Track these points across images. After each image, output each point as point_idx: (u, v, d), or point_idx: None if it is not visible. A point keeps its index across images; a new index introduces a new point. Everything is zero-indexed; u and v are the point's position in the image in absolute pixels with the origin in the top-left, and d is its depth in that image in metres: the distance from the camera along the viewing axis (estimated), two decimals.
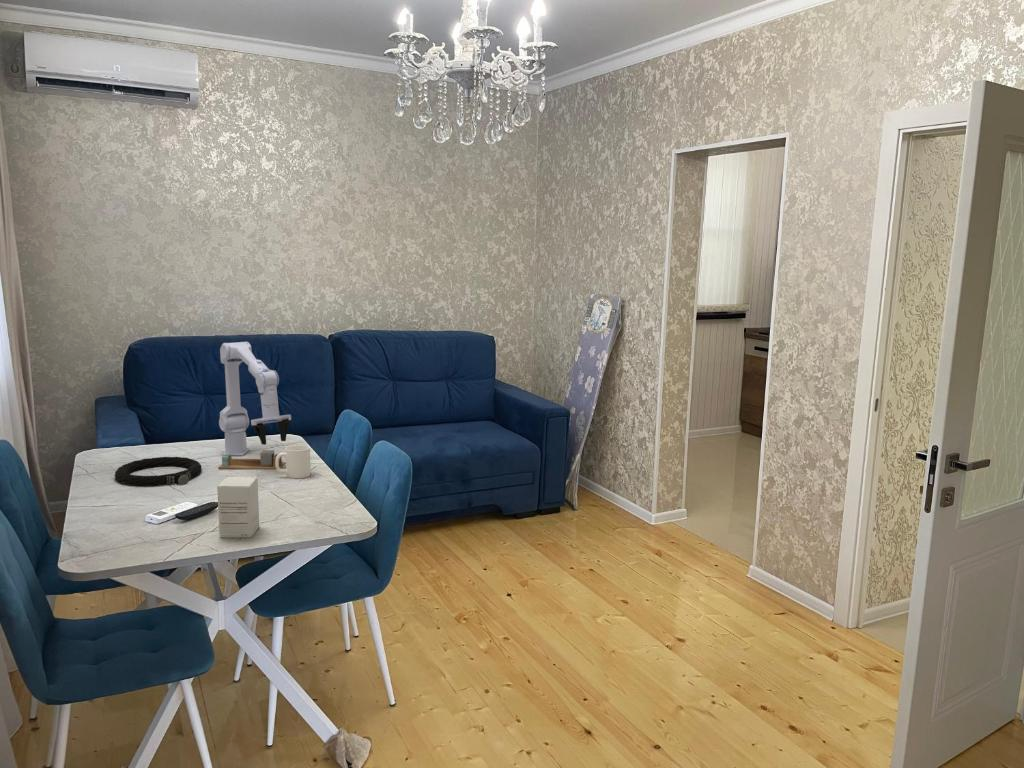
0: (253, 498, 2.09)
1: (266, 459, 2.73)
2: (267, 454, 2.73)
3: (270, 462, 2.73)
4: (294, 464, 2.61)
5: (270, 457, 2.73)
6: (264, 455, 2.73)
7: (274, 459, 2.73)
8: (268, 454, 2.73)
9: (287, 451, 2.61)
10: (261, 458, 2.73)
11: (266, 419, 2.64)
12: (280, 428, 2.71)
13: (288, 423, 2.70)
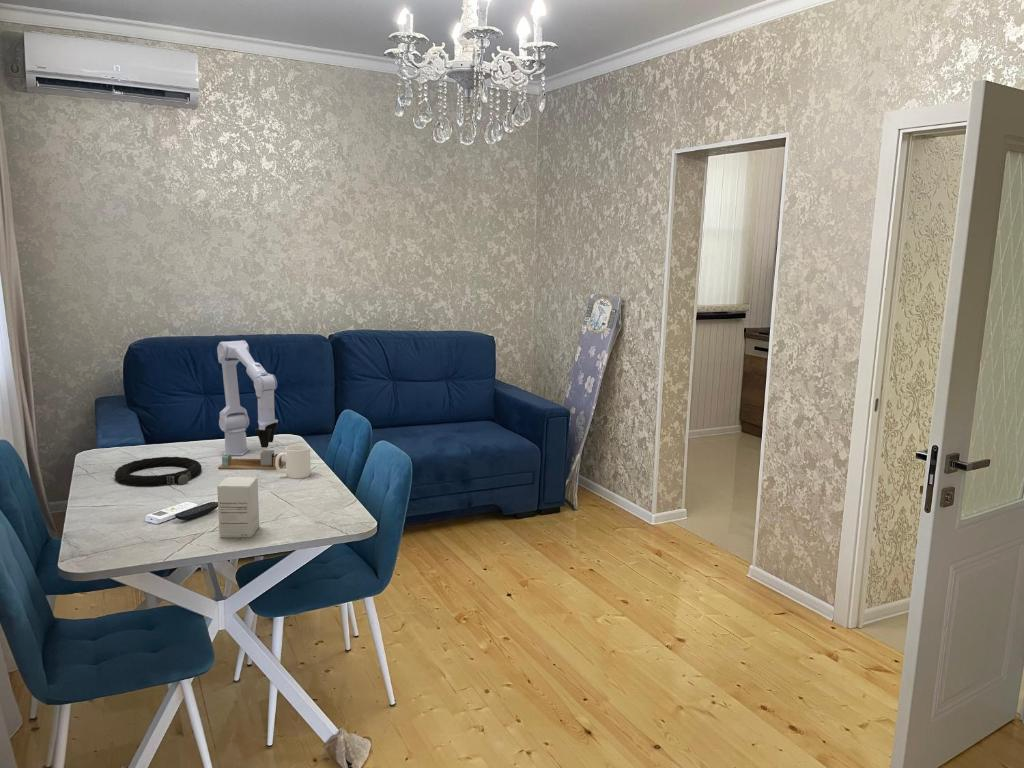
0: (253, 498, 2.09)
1: (266, 459, 2.73)
2: (267, 454, 2.73)
3: (270, 462, 2.73)
4: (294, 464, 2.61)
5: (270, 457, 2.73)
6: (264, 455, 2.73)
7: (274, 459, 2.73)
8: (268, 454, 2.73)
9: (287, 451, 2.61)
10: (261, 458, 2.73)
11: (270, 423, 2.70)
12: None
13: (277, 424, 2.78)
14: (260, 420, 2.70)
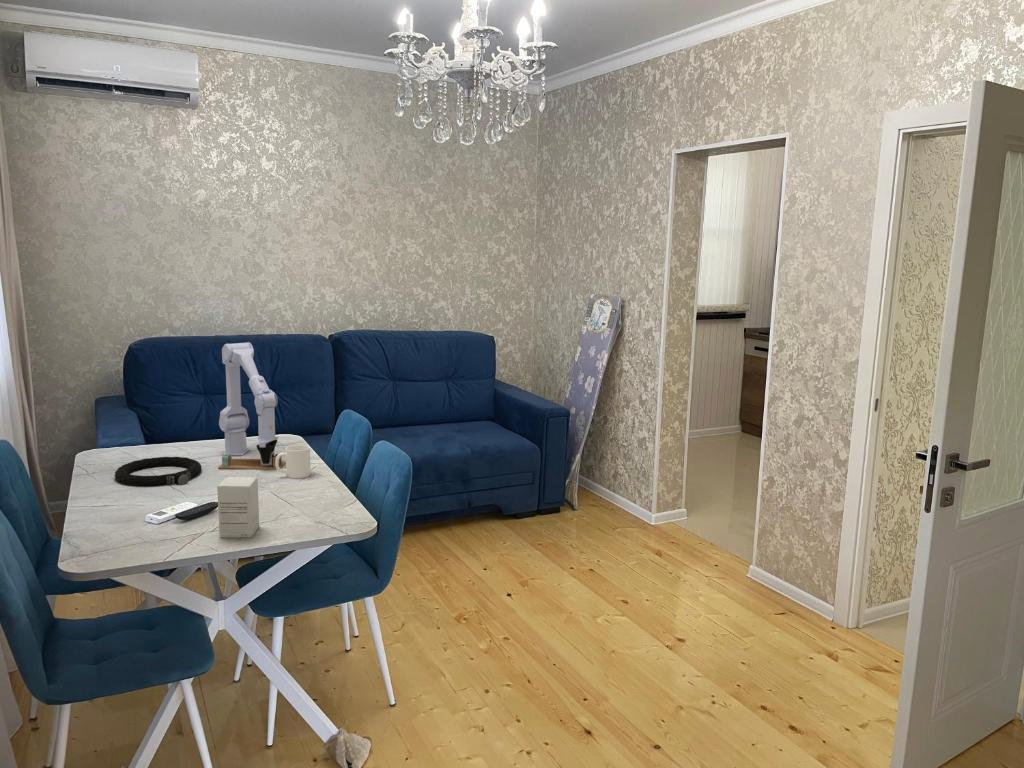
0: (253, 498, 2.09)
1: None
2: None
3: (270, 462, 2.73)
4: (294, 464, 2.61)
5: (270, 457, 2.73)
6: None
7: (274, 459, 2.73)
8: None
9: (287, 451, 2.61)
10: None
11: (270, 440, 2.71)
12: None
13: (276, 442, 2.78)
14: (260, 437, 2.71)
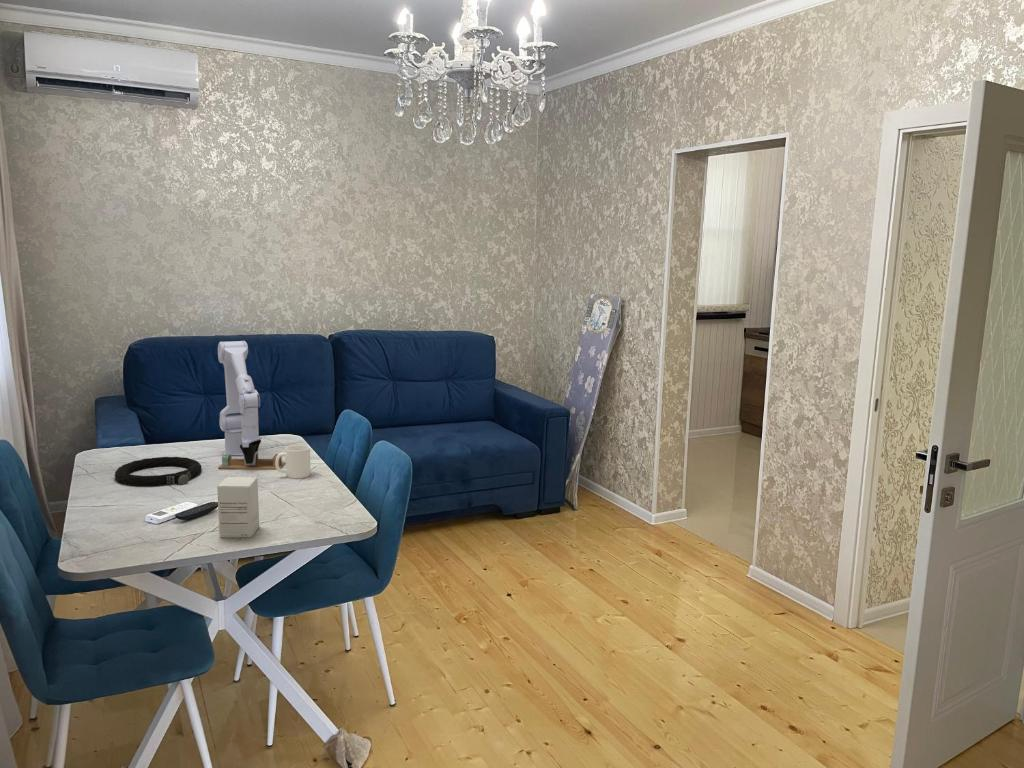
0: (253, 498, 2.09)
1: None
2: None
3: (254, 462, 2.73)
4: (294, 464, 2.61)
5: (254, 457, 2.72)
6: None
7: (274, 459, 2.73)
8: None
9: (287, 451, 2.61)
10: None
11: (254, 440, 2.71)
12: None
13: (260, 442, 2.78)
14: (244, 437, 2.71)
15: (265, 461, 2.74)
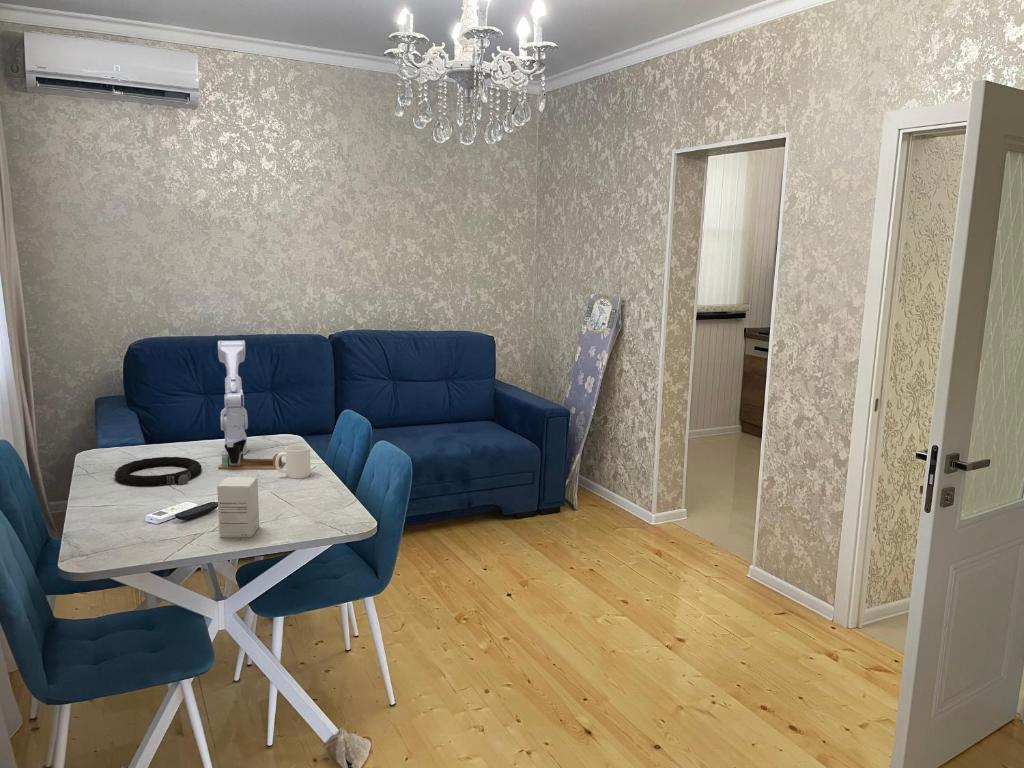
0: (253, 498, 2.09)
1: None
2: None
3: (239, 462, 2.72)
4: (294, 464, 2.61)
5: (239, 457, 2.72)
6: None
7: (274, 459, 2.73)
8: None
9: (287, 451, 2.61)
10: None
11: (239, 440, 2.70)
12: None
13: (245, 442, 2.77)
14: (229, 437, 2.70)
15: (265, 461, 2.74)
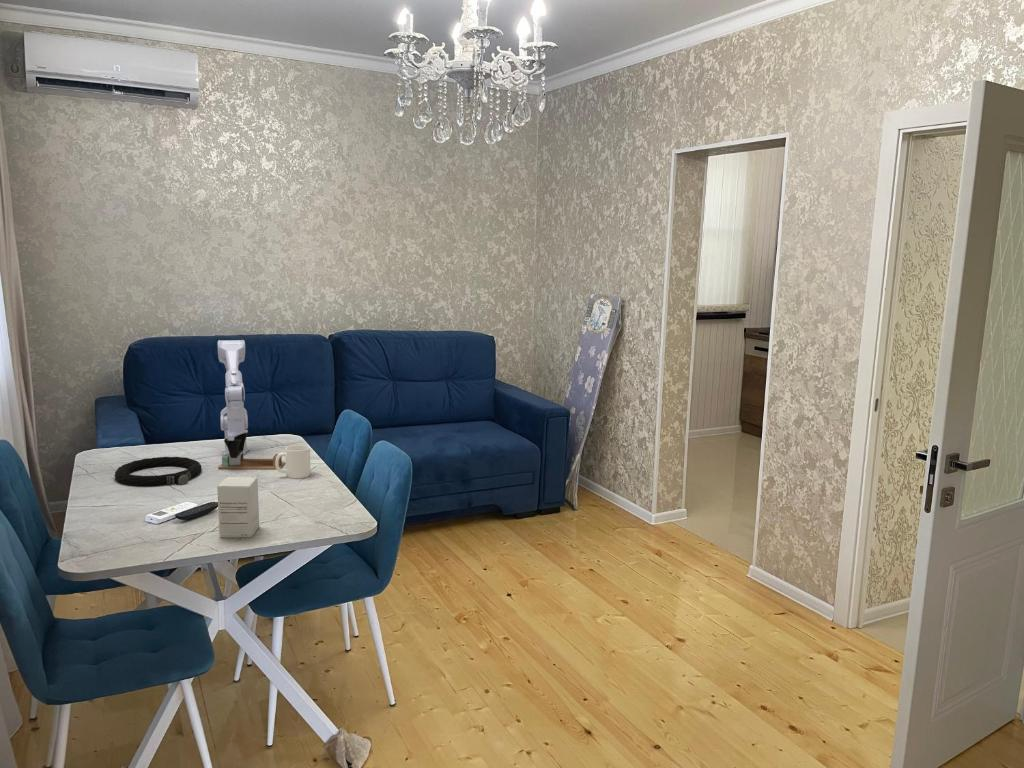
0: (253, 498, 2.09)
1: (235, 459, 2.72)
2: None
3: (239, 462, 2.72)
4: (294, 464, 2.61)
5: (239, 457, 2.72)
6: None
7: (274, 459, 2.73)
8: None
9: (287, 451, 2.61)
10: (230, 458, 2.72)
11: (239, 433, 2.70)
12: None
13: (247, 434, 2.78)
14: (229, 430, 2.70)
15: (265, 461, 2.74)
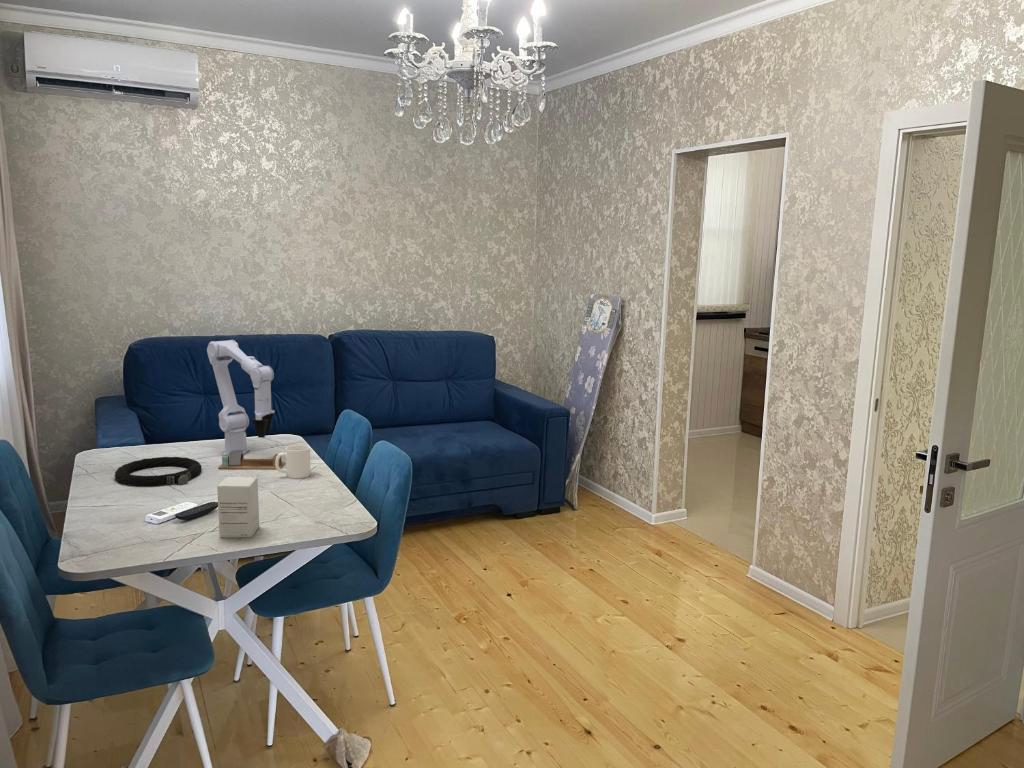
0: (253, 498, 2.09)
1: (235, 459, 2.72)
2: (236, 454, 2.72)
3: (239, 462, 2.72)
4: (294, 464, 2.61)
5: (239, 457, 2.72)
6: (233, 455, 2.72)
7: (274, 459, 2.73)
8: (237, 454, 2.72)
9: (287, 451, 2.61)
10: (230, 458, 2.72)
11: (267, 413, 2.75)
12: None
13: (273, 415, 2.84)
14: (257, 410, 2.75)
15: (265, 461, 2.74)
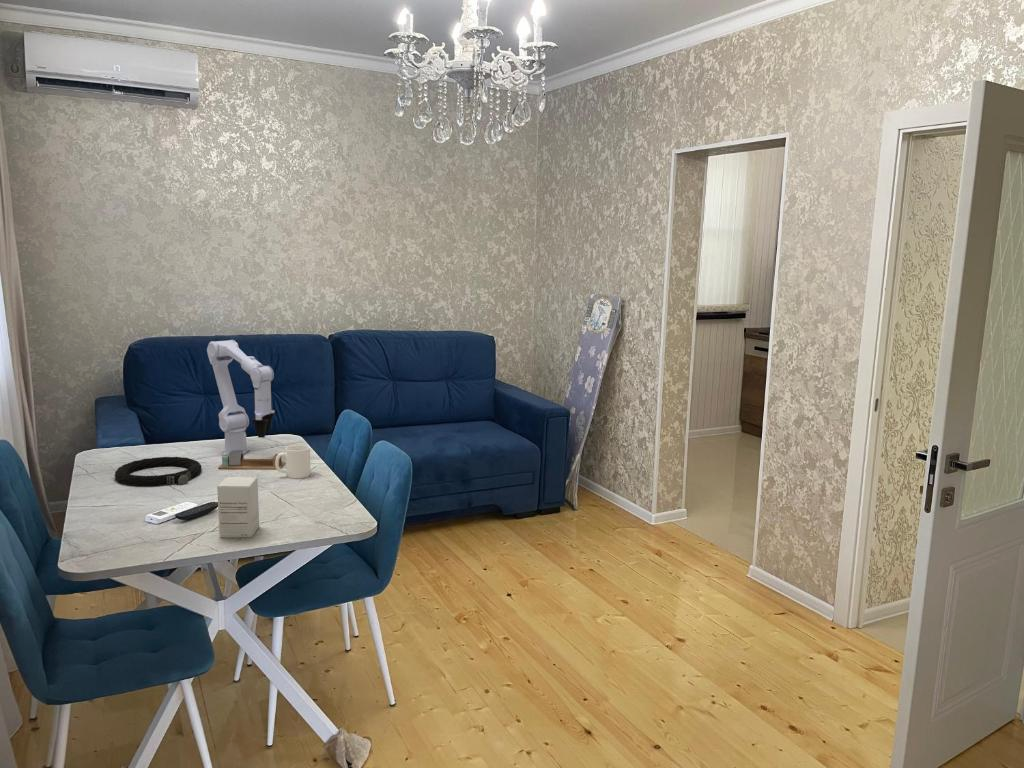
0: (253, 498, 2.09)
1: (235, 459, 2.72)
2: (236, 454, 2.72)
3: (239, 462, 2.72)
4: (294, 464, 2.61)
5: (239, 457, 2.72)
6: (233, 455, 2.72)
7: (274, 459, 2.73)
8: (237, 454, 2.72)
9: (287, 451, 2.61)
10: (230, 458, 2.72)
11: (267, 413, 2.75)
12: None
13: (273, 415, 2.84)
14: (257, 410, 2.75)
15: (265, 461, 2.74)
